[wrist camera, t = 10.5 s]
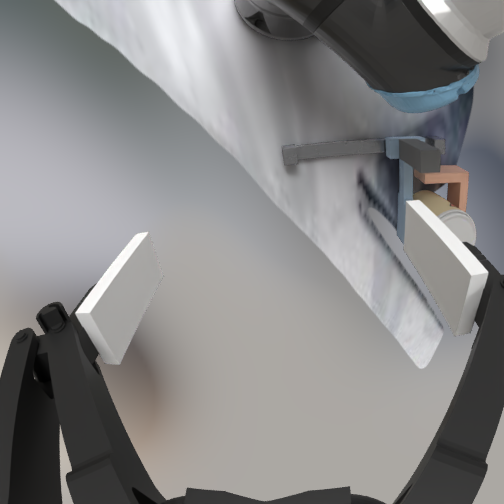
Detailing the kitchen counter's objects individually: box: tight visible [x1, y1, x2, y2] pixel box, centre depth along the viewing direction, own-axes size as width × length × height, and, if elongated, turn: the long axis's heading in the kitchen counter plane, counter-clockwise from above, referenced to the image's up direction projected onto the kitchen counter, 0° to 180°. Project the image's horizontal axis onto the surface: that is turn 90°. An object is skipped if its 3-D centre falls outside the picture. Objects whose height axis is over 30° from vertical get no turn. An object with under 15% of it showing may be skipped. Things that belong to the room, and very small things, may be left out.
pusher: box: [385, 136, 441, 244], centre depth 43 cm, size 18×6×11 cm, turn 9°
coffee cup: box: [413, 190, 476, 246], centre depth 44 cm, size 9×9×12 cm
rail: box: [282, 136, 445, 165], centre depth 44 cm, size 2×26×3 cm, turn 99°
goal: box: [414, 165, 469, 212], centre depth 47 cm, size 16×9×4 cm, turn 9°
